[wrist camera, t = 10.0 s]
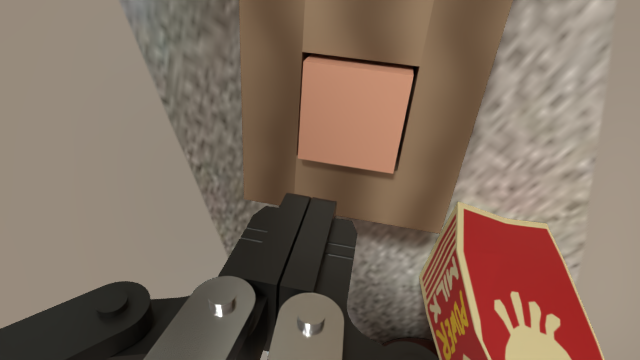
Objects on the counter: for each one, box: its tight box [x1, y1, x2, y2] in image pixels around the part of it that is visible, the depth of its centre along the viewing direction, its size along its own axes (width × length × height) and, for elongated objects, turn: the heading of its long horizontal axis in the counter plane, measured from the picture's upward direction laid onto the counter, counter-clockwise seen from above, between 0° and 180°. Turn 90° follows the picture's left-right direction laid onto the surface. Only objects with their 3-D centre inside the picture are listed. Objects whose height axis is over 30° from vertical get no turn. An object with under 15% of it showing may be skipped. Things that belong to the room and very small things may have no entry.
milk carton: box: [419, 202, 605, 360], centre depth 25 cm, size 9×9×20 cm
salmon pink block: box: [298, 53, 414, 174], centre depth 23 cm, size 6×6×4 cm
